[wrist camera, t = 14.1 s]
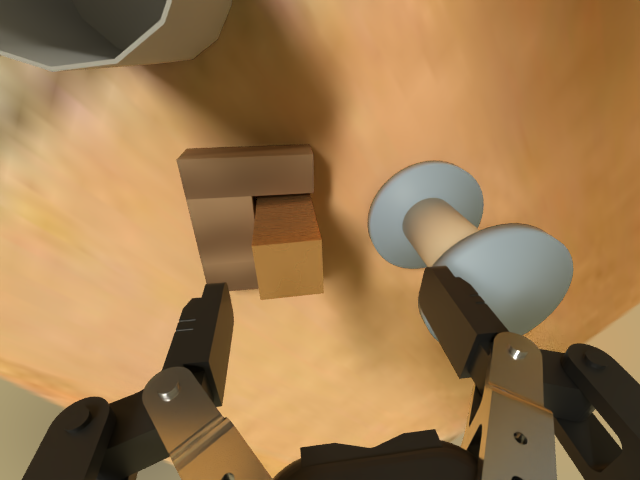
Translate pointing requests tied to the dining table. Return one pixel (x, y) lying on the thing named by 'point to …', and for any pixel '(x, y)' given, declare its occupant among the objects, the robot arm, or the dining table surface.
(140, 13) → the cup
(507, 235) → the bobbin
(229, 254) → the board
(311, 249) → the block
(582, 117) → the dining table surface
